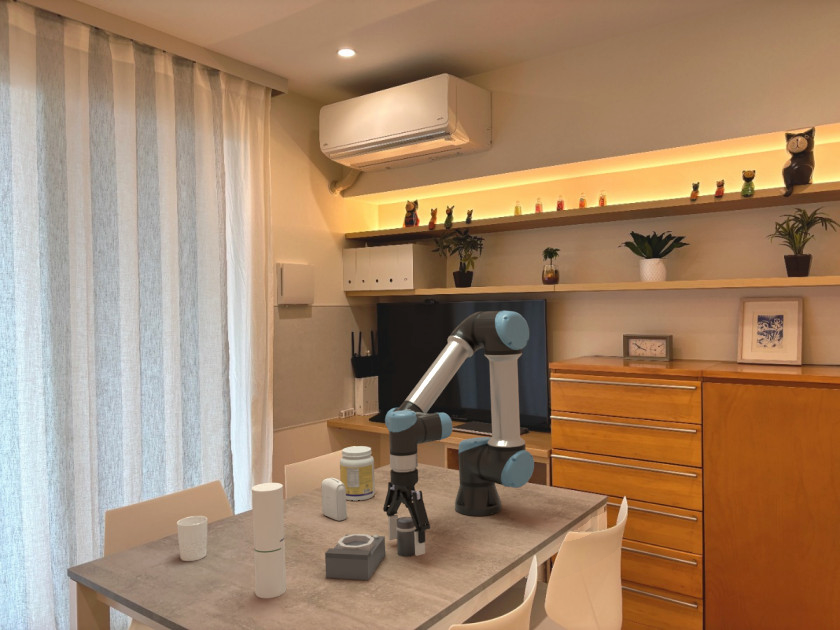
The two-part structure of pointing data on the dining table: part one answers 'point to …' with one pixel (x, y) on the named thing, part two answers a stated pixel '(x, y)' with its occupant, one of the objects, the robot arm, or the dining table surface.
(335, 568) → the camera body
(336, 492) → the photo printer
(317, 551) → the dining table surface
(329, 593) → the dining table surface
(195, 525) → the white cup
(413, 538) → the lens
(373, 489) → the supplement tub
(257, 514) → the cylindrical container
